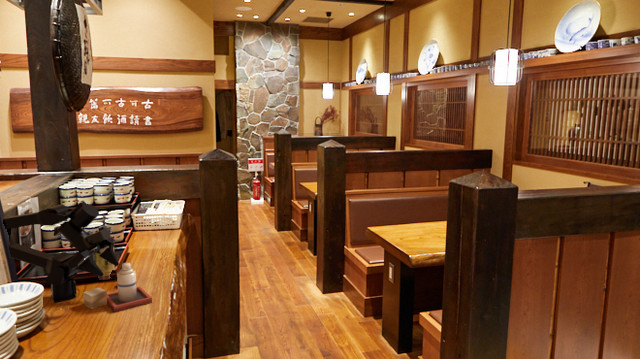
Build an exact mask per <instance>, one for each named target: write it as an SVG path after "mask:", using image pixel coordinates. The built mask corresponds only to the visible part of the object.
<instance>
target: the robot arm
mask: <svg viewBox="0 0 640 359" xmlns="http://www.w3.org/2000/svg"><path fill="white" fill-rule="evenodd" d="M99 216H100V211H99V209H98V208H97V207H96V206H94V205H92V204H89V203H86V202H85V201H80V202H79V203H78V204H77V206H76V207H75V208H69V207H67V206H65V205H64V204H57V205H55V206H51V207H48V208H44V209H42V210H39V211H37V212H30V213H25V214H19V215H11V216H4V217H3V218H4V219H3V224H4V226H5V229H7V232H8V235H9V242H10V245H9V250H10V254H11V257H10V258H11V259H15V260H18V261H21V262H23V263H27V264H30V265H33V266H36V267H39V268H42V269H44V270H46V272H47V273H48V275H46V276H45V278H44V279H45V282H46V285H50V288H51V294H50V298H51V300H52V301H53V302H54V303H58V302H63V301H67V300H72V299H76V298H77V295H76V294H77V283H76V281H75V279H74V277H76V276H77V275H78V272H79V271H83V272H86V273H90V274H92V275H95V276H97V275H98V276H101V277H102V276H103V275H104V274H103V272H102V271H101V269H100V268H99V267H98V266H97V265H96V261H94V258H93V257H94V254H96V253H98V254H100V255H99V256H100V257H102V258H103V259H105V260H106V261H108V262H110V263H111V264H113V265H115V267H118V266H120V263H119V261H118V258H117V256H116V254H115V250H114V251H113V247H114V248H115V244H116V243H115V242H116V239H115V238H114V237H112V236H111V231H112V229H111V230H110V229H109V228H108V227H106V226H107V225H101V226H102V227H100V226H99V227H100V228H99V227H98V228H99V229H98V231H95V232H94V233H93V232H92V231H91V230H89V231H86V230H85V228H87V227H89V226H90V225H91V223H93V221H94V220H95V219H97V217H99ZM60 223H61V224H60ZM57 224H60V225H57ZM34 225H39V226H45V227H46V226H49V227H50V226H55V225H57V226H56V227H54V228H53V236H54V237H56V236H59V235H61V236H63V238H65V239H66V240H67V241H68V243H69V244H70V245H69V247H70V249H73V248H75V249H76V250H77V252H76V253H75V254H70V253H68V252H65V251H61V252H60V253H58V254H55V255H54V254H50V253H47V252H45V251H41V250H38V249H35V248H32V247H29V246H27V245H24V244H19V243H17V242H15V241H14V239H13V237H12V236H13V229H16V228H22V227H27V226H28V227H29V226H34Z"/></svg>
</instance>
